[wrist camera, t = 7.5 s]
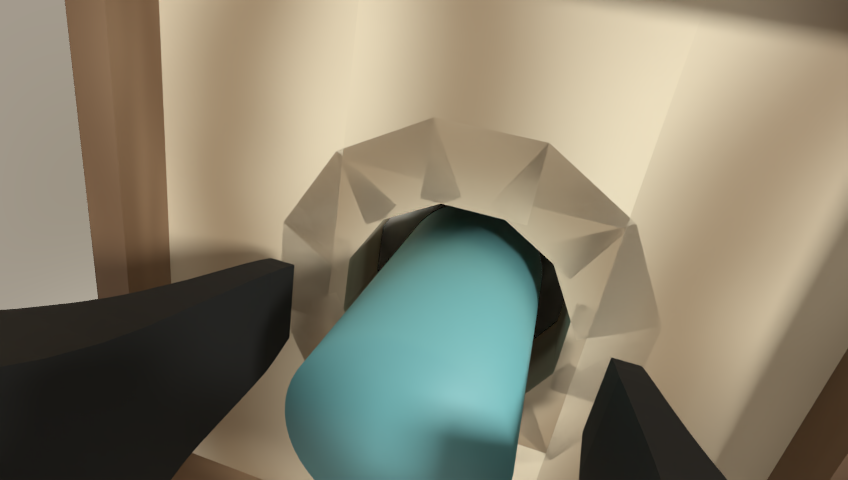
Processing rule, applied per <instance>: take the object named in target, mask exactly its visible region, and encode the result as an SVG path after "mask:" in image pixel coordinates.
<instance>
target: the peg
mask: <svg viewBox="0 0 848 480" xmlns="http://www.w3.org/2000/svg"><path fill="white" fill-rule="evenodd" d="M541 283H542V263H541V258H540V254H539V251H538V250H537V249H536V248H535V247H534V246H533V245H532V244H531V243H530V242H529V241H528V240H527V239H525V238H524V237H523V236H522V235H521V234H520V233H519V232H518V231H517V230H516V229H515V228H513V227H512V226H511V225H510V224H509V223H508V222H507V221H506V220H504V219H500V218H496V217H492V216H488V215H484V214H480V213H476V212H472V211H468V210H464V209H460V208H457V207H453V206H447V207H443V208H441V209H439V210H437V211H435V212H433V213H432V214H430V215H428V216H427V217H426V218H425V219H424V220H422V221H421V222H420V224H419V225H418V226H417V227H416V228H415V229H414V231H413V232H412V233H411V234H410V235H409V237H408V238H407V239H406V240H405V241H404V243H403V244H402V245H401V246H400V247H399V249H398V250H397V251H396V252H395V253H394V255H393V256H392V257H391V258H390V259H389V261H388V262H387V263H386V264H385V265H384V267H383V268H382V269H381V270H380V271H379V273H378V274H377V275H376V276H375V277H374V279H373V280H372V281H371V282H370V283H369V285H368V286H367V287H366V288H365V289H364V290H363V292H362V293H361V294H360V295H359V296H358V298H357V299H356V300H355V301H354V302H353V304H352V305H351V306H350V307H349V308H348V310H347V311H346V312H345V313H344V314H343V316H342V317H341V318H340V319H339V320H338V322H337V323H336V324H335V325H334V326H333V328H332V329H331V330H330V331H329V332H328V334H327V335H326V336H325V337H324V338H323V340H322V341H321V342H320V343H319V344H318V345H317V347H316V348H315V349H314V350H313V351H312V353H311V354H310V355H309V356H308V357H307V359H306V360H305V361H304V362H303V363H302V365H301V366H300V367H299V368H298V369H297V371H296V373H295V374H294V376H293V378H292V379H291V382H290V384H289V387H288V390H287V394H286V399H285V420H286V427H287V431H288V435H289V438H290V441H291V443H292V446H293V448H294V450H295V452H296V454H297V456H298V458H299V460H300V461H301V463H302V464H303V466H304V467H305V469H306V470H307V471H308V473H309V474H310V475H311V476H312V477H313V479H314V480H512V477H513V473H514V466H515V459H516V452H517V445H518V439H519V432H520V425H521V418H522V412H523V405H524V398H525V391H526V385H527V378H528V371H529V364H530V357H531V351H532V344H533V337H534V330H535V324H536V317H537V310H538V303H539V297H540V290H541Z"/></svg>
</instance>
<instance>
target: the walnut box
mask: <svg viewBox="0 0 848 480" xmlns="http://www.w3.org/2000/svg"><path fill="white" fill-rule="evenodd" d="M65 6H66V14H67V23H68V33H69V42H70V50H71V59H72V68H73V77H74V86H75V95H76V104H77V112H78V122H79V130H80V140H81V147H82V148H81V149H82V157H83V166H84V175H85V184H86V193H87V202H88V211H89V220H90V229H91V237H92V247H93V256H94V265H95V273H96V283H97V292H98V299H101V298H107V297H113V296H118V295H124V294H129V293H134V292H138V291H143V290H147V289H151V288H155V287H159V286H163V285H167V284H171V283H175V282H180V281H184V280H188V279H191V278H195V277H198V276H202V275H206V274H209V273H213V272H216V271H220V270H224V269H227V268H231V267H234V266H238V265H241V264H245V263H249V262H253V261H257V260H262V259H268V258H273V259H276V260H280V261H283V262H287V263H290V264H293V265H294V279H293V293H292V308H291V323H290V337H289V339H288V341H287V342H286V344H285V345H284V347H283V348H282V350H281V351H280V353H279V354H278V356H277V357H276V359H275V360H274V362H273V363H272V364H271V366H270V367H269V368H268V370H267V371H266V372H265V374H264V375H263V376H262V377H261V378H260V379H259V380H258V381H257V383H256V384H255V385H254V386H253V387H252V388H251V389H250V390H249V391H248V392H247V393H246V395H245V396H244V397H243V398H242V399H241V400H240V401H239V402H238V403H237V404H236V405H235V406H234V408H233V409H232V410H231V411H230V412H229V413H228V414H227V415H226V416H225V417H224V418H223V419H222V420H221V422H220V423H219V424H218V425H217V426H216V427H215V428H214V429H213V430H212V431H211V432H210V433H209V434H208V436H207V437H206V438H205V439H204V440H203V441H202V442H201V443H200V444H199V445H198V447H197V448H196V449H195V450H194V451H193V452H192V454H191V455H190V456H189V457H188V458H187V459H186V461H185V462H184V463H183V465H182V466H181V467H180V469H179V470H178V471H177V473H176V474H175V475H174V477H173V478H172V479H171V480H314V479H313V477H312V476H311V475H310V474H309V473H308V471H307V470H306V469H305V467H304V466H303V464H302V463H301V461H300V460H299V458H298V456H297V454H296V452H295V450H294V448H293V446H292V443H291V441H290V438H289V435H288V431H287V427H286V420H285V399H286V394H287V390H288V387H289V384H290V382H291V379H292V378H293V376H294V374H295V373H296V371H297V369H298V368H299V367H300V366H301V365H302V363H303V362H304V361H305V360H306V359H307V357H308V356H309V355H310V354H311V353H312V351H313V350H314V349H315V348H316V347H317V345H318V344H319V343H320V342H321V341H322V340H323V338H324V337H325V336H326V335H327V334H328V332H329V331H330V330H331V329H332V328H333V326H334V325H335V324H336V323H337V322H338V320H339V319H340V318H341V317H342V316H343V314H344V313H345V312H346V311H347V310H348V308H349V307H350V306H351V305H352V304H353V302H354V301H355V300H356V299H357V298H358V296H359V295H360V294H361V293H362V292H363V290H364V289H365V288H366V287H367V286H368V285H369V283H370V282H371V281H372V280H373V279H374V277H375V276H376V275H377V274H378V271H377V266H378V259H379V252H380V245H381V238H382V231H383V225H384V224H385V223H386V222H387V221H388V220H389V218H391V217H394V216H398V215H402V214H405V213H409V212H412V211H416V210H420V209H423V208H427V207H430V206H434V205H438V204H445V205H449V206H453V207H457V208H460V209H464V210H468V211H472V212H476V213H480V214H484V215H488V216H492V217H496V218H500V219H504V220H506V221H507V222H508V223H509V224H510V225H511V226H512V227H513V228H515V229H516V230H517V231H518V232H519V233H520V234H521V235H522V236H523V237H524V238H525V239H527V240H528V241H529V242H530V243H531V244H532V245H533V246H534V247H535V248H536V249H537V250H539V251H540V252H541V253H542V254H543V255H544V256H545V257H546V258H547V259H548V260H549V261H551V262H552V263H553V264H554V267H555V270H556V274H557V277H558V280H559V284H560V287H561V290H562V294H563V297H564V302H563V306H562V309H561V312H560V315H559V318H558V321H557V322H556V323H554V324H553V325H552V326H551V327H549V328H548V329H547V330H546V331H544V332H543V333H542V334H541V335H539V336H538V337H537V338H536V339H534V340H533V344H532V351H531V357H530V364H529V371H528V378H527V385H526V391H525V398H524V405H523V412H522V418H521V425H520V432H519V439H518V445H517V452H516V459H515V466H514V473H513V477H512V480H579V468H580V454H581V443H582V432H583V429H584V427H585V424H586V421H587V419H588V416H589V414H590V411H591V409H592V406H593V403H594V401H595V398H596V396H597V393H598V390H599V388H600V385H601V383H602V380H603V378H604V375H605V372H606V370H607V367H608V365H609V362H610V359H611V357H612V358H616V359H619V360H623V361H626V362H630V363H633V364H636V365H640V366H642V367H643V368H644V369H645V371H646V372H647V373H648V375H649V376H650V378H651V379H652V380H653V382H654V383H655V385H656V386H657V387H658V389H659V390H660V392H661V393H662V395H663V396H664V398H665V399H666V400H667V402H668V403H669V405H670V406H671V407H672V409H673V410H674V412H675V413H676V414H677V416H678V417H679V419H680V420H681V421H682V423H683V424H684V425H685V427H686V428H687V430H688V431H689V432H690V434H691V435H692V436H693V438H694V439H695V440H696V441H697V443H698V444H699V445H700V447H701V448H702V449H703V451H704V452H705V453H706V454H707V456H708V457H709V458H710V459H711V461H712V462H713V463H714V464H715V465H716V467H717V468H718V469H719V470H720V471H721V473H722V474H723V475H724V476H725V477H726V479H727V480H848V0H65Z"/></svg>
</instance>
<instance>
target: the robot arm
mask: <svg viewBox="0 0 848 480" xmlns="http://www.w3.org/2000/svg"><path fill="white" fill-rule="evenodd" d="M293 279H294V265H293V264H290V263H287V262H283V261H280V260H276V259H273V258H268V259H262V260H257V261H253V262H249V263H245V264H241V265H238V266H234V267H231V268H227V269H224V270H220V271H216V272H213V273H209V274H206V275H202V276H198V277H195V278H191V279H188V280H184V281H180V282H175V283H171V284H167V285H163V286H159V287H155V288H151V289H147V290H143V291H138V292H134V293H129V294H124V295H118V296H113V297H107V298H101V299H95V300H89V301H83V302H76V303H68V304H58V305H49V306H40V307H31V308H22V309H10V310H0V480H171V479H172V478H173V477H174V475H175V474H176V473H177V471H178V470H179V469H180V467H181V466H182V465H183V463H184V462H185V461H186V459H187V458H188V457H189V456H190V455H191V454H192V452H193V451H194V450H195V449H196V448H197V447H198V445H199V444H200V443H201V442H202V441H203V440H204V439H205V438H206V437H207V436H208V434H209V433H210V432H211V431H212V430H213V429H214V428H215V427H216V426H217V425H218V424H219V423H220V422H221V420H222V419H223V418H224V417H225V416H226V415H227V414H228V413H229V412H230V411H231V410H232V409H233V408H234V406H235V405H236V404H237V403H238V402H239V401H240V400H241V399H242V398H243V397H244V396H245V395H246V393H247V392H248V391H249V390H250V389H251V388H252V387H253V386H254V385H255V384H256V383H257V381H258V380H259V379H260V378H261V377H262V376H263V375H264V374H265V372H266V371H267V370H268V368H269V367H270V366H271V364H272V363H273V362H274V360H275V359H276V357H277V356H278V354H279V353H280V351H281V350H282V348H283V347H284V345H285V344H286V342H287V341H288V339H289V337H290V323H291V308H292V293H293ZM579 480H727V479H726V477H725V476H724V475H723V474H722V473H721V471H720V470H719V469H718V468H717V467H716V465H715V464H714V463H713V462H712V461H711V459H710V458H709V457H708V456H707V454H706V453H705V452H704V451H703V449H702V448H701V447H700V445H699V444H698V443H697V441H696V440H695V439H694V438H693V436H692V435H691V434H690V432H689V431H688V430H687V428H686V427H685V425H684V424H683V423H682V421H681V420H680V419H679V417H678V416H677V414H676V413H675V412H674V410H673V409H672V407H671V406H670V405H669V403H668V402H667V400H666V399H665V398H664V396H663V395H662V393H661V392H660V390H659V389H658V387H657V386H656V385H655V383H654V382H653V380H652V379H651V378H650V376H649V375H648V373H647V372H646V371H645V369H644V368H643V367H642V366H640V365H636V364H633V363H630V362H626V361H623V360H619V359H616V358H612V357H611V359H610V362H609V365H608V367H607V370H606V372H605V375H604V378H603V380H602V383H601V385H600V388H599V390H598V393H597V396H596V398H595V401H594V403H593V406H592V409H591V411H590V414H589V416H588V419H587V421H586V424H585V427H584V429H583V432H582V443H581V454H580V468H579Z"/></svg>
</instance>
